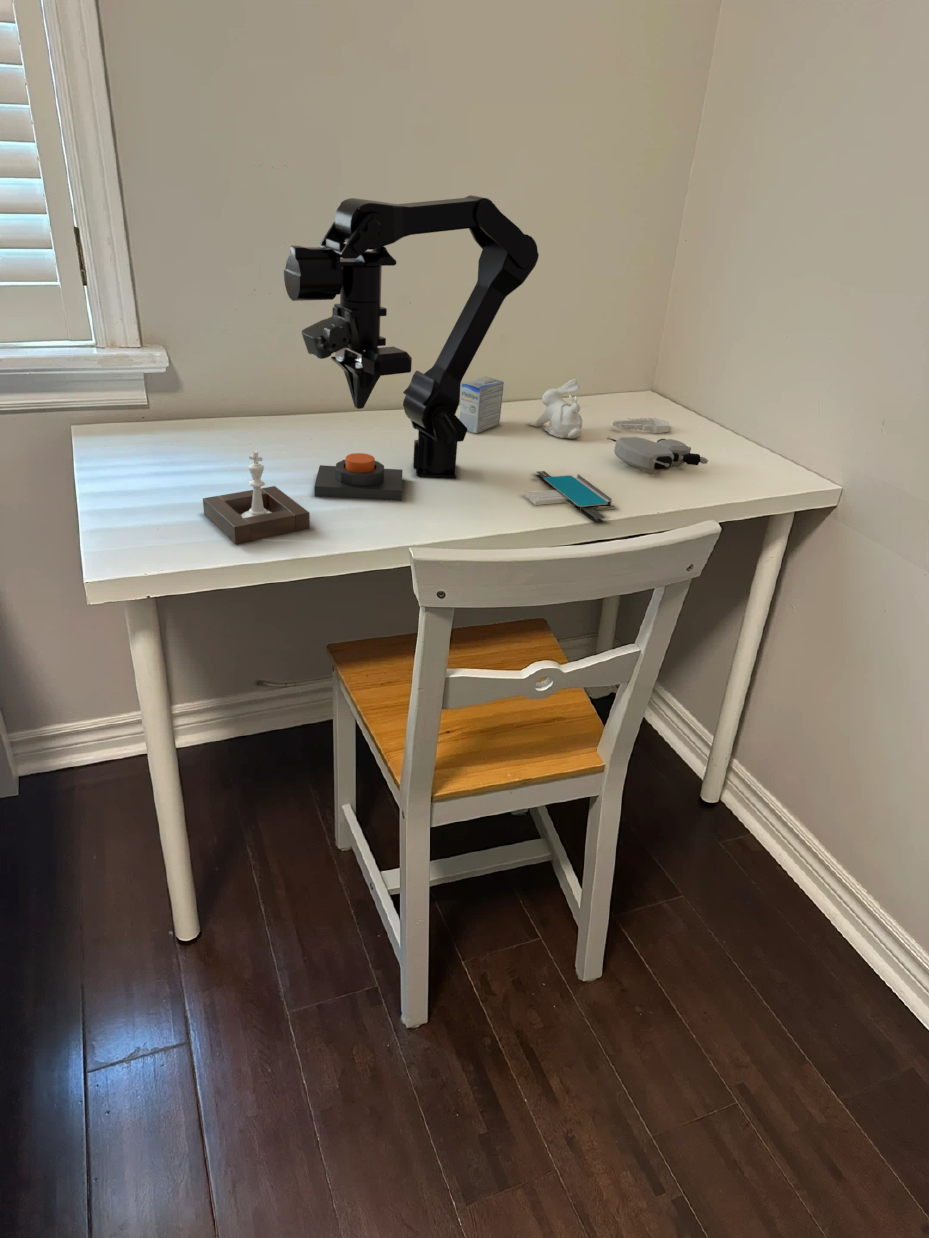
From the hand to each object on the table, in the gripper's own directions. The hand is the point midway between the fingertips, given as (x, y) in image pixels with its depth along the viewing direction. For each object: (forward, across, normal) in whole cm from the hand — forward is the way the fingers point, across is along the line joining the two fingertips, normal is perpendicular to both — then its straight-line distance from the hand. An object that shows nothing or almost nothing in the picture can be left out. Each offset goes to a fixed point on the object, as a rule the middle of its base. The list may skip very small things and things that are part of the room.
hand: (359, 408), depth 129 cm
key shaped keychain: (+12, +1, +65) cm, 66 cm away
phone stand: (+12, +20, +26) cm, 35 cm away
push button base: (+12, +2, -1) cm, 12 cm away
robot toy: (+12, +17, +51) cm, 55 cm away
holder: (+12, +7, -20) cm, 24 cm away
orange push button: (+9, +2, -1) cm, 9 cm away
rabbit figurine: (+12, -5, +49) cm, 50 cm away
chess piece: (+12, +6, -20) cm, 24 cm away
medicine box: (+12, -14, +35) cm, 40 cm away
